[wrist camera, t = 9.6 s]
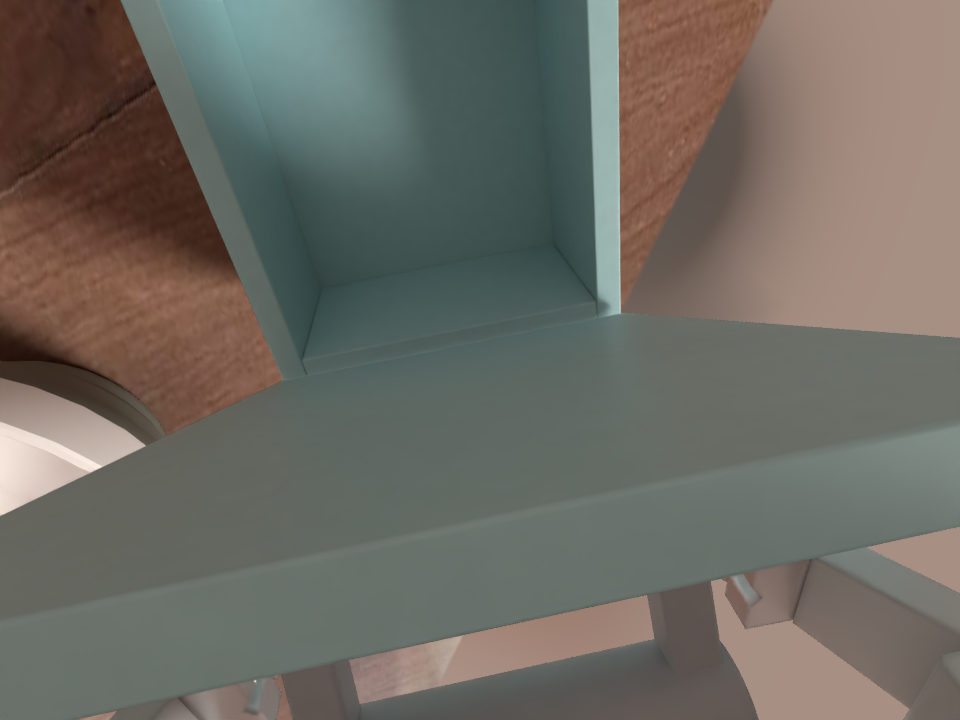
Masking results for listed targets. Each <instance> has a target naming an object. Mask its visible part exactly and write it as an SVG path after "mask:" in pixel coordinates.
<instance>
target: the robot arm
mask: <svg viewBox="0 0 960 720" xmlns="http://www.w3.org/2000/svg"><path fill="white" fill-rule="evenodd" d="M722 579H723V580H725V581H726V582H727V586H726V593H725V595H726V597H727V599H728V600H729V602H730V604H731V605H732V607H733V609H734V611H735V612H736V614H737V616H738V617H739V619H740V621H741V622H742V624H743V625H744V627H745V629H748V628H753V627H758V626H764V625H769V624H774V623H780V622H784V621H790V620H793V623H794V624H795V625H797V626H798V627H800V628H801V629H802V630H803V631H805V632H806V633H808V634H809V635H810V636H812V637H813V638H814V639H816V640H817V641H818V642H820V643H821V644H822V645H824V646H825V647H826V648H828V649H829V650H831V651H832V652H833V653H835V654H836V655H837V656H839V657H840V658H841V659H843V660H844V661H846V662H847V663H848V664H850V665H851V666H852V667H854V668H855V669H856V670H858V671H859V672H860V673H862V674H863V675H864V676H866V677H867V678H869V679H870V680H871V681H873V682H874V683H875V684H877V685H878V686H880V687H881V688H882V689H883V690H885V691H886V692H887V693H889V694H890V695H891V696H893V697H894V698H896V699H897V700H898V701H900V702H901V703H902V704H904V705H905V706H906V707H908V708H909V711H908V713H907V714H906V716H905V718H904V720H960V593H958V592H956V591H954V590H952V589H950V588H948V587H946V586H944V585H942V584H940V583H938V582H936V581H934V580H932V579H930V578H928V577H926V576H924V575H921V574H920V573H918V572H915V571H913V570H911V569H909V568H907V567H905V566H903V565H901V564H899V563H897V562H895V561H893V560H891V559H889V558H887V557H885V556H883V555H881V554H879V553H877V552H875V551H873V550H870V549H868V548H866V547H864V548H859V549H855V550H850V551H846V552H841V553H836V554H832V555H827V556H823V557H818V558H814V559H809V560H804V561H800V562H795V563H791V564H786V565H781V566H777V567H772V568H768V569H763V570H759V571H754V572H749V573H745V574H740V575H736V576H731V577H726V578H722ZM278 676H279V675H277V676H273V677H268V678H264V679H259V680H255V681H250V682H245V683H241V684H236V685H232V686H227V687H223V688H218V689H213V690H209V691H204V692H200V693H195V694H190V695H186V696H181V697H177V698H172V699H168V700H163V701H158V702H154V703H149V704H145V705H140V706H135V707H131V708H126V709H122V710H118V711H117V712H116V713H115V714H114V715H113V717H112V718H111V719H110V720H277V715H278V709H279V703H280V698H281V691H280V689H279V687H278V685H277V684H276V682H275V680H276V679H277V677H278Z"/></svg>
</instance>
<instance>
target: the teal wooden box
mask: <svg viewBox="0 0 960 720" xmlns="http://www.w3.org/2000/svg"><path fill="white" fill-rule="evenodd" d="M120 1H121V3H122V5H123V8H124V10H125V12H126V15H127V17H128V19H129V22H130V24H131V26H132V29H133V31H134V33H135V36H136V38H137V40H138V43H139V45H140V47H141V50H142V52H143V54H144V57H145V59H146V61H147V64H148V66H149V68H150V71H151V73H152V75H153V78H154V80H155V82H156V85H157V87H158V89H159V92H160V94H161V96H162V99H163V101H164V103H165V106H166V108H167V110H168V113H169V115H170V117H171V120H172V122H173V124H174V127H175V129H176V131H177V134H178V136H179V138H180V141H181V143H182V145H183V148H184V150H185V152H186V155H187V157H188V159H189V162H190V164H191V166H192V169H193V171H194V173H195V176H196V178H197V180H198V183H199V185H200V187H201V190H202V192H203V194H204V197H205V199H206V201H207V204H208V206H209V208H210V211H211V213H212V215H213V218H214V220H215V222H216V225H217V227H218V229H219V232H220V234H221V236H222V239H223V241H224V243H225V246H226V248H227V250H228V253H229V255H230V257H231V260H232V262H233V264H234V267H235V269H236V271H237V274H238V276H239V278H240V281H241V283H242V285H243V288H244V290H245V292H246V295H247V297H248V299H249V302H250V304H251V306H252V309H253V311H254V313H255V316H256V318H257V320H258V323H259V325H260V327H261V330H262V332H263V334H264V337H265V339H266V341H267V344H268V346H269V348H270V351H271V353H272V355H273V358H274V360H275V362H276V364H277V367H278V369H279V371H280V374H281V376H282V378H283V381H285V380H290V379H295V378H300V377H305V376H310V375H315V374H320V373H325V372H330V371H335V370H340V369H345V368H350V367H355V366H360V365H365V364H370V363H375V362H380V361H385V360H390V359H395V358H400V357H405V356H410V355H415V354H420V353H425V352H430V351H435V350H440V349H445V348H450V347H455V346H460V345H465V344H470V343H475V342H480V341H485V340H490V339H495V338H500V337H505V336H510V335H515V334H520V333H525V332H530V331H535V330H540V329H545V328H550V327H555V326H560V325H565V324H570V323H575V322H580V321H585V320H590V319H595V318H600V317H605V316H610V315H615V314H620V313H621V312H620V177H619V42H618V0H120Z"/></svg>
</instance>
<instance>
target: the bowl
mask: <svg viewBox="0 0 960 720" xmlns="http://www.w3.org/2000/svg"><path fill="white" fill-rule="evenodd" d="M164 437H166V435H165V432H164V431H163V429H162V427H161V425H160V424H159V422H158V420H157V419H156V417H155V416H154V415H153V414H152V413H151V412H150V410H149V409H148V408H147V407H146V406H145V405H144V404H143V403H142V402H140V401H139V400H138V399H137V398H136V397H134V396H133V395H132V394H131V393H130V392H128V391H127V390H125V389H123V388H121V387H120V386H118V385H116V384H115V383H113V382H111V381H110V380H108V379H105V378H103V377H101V376H98V375H96V374H94V373H91V372H89V371H86V370H82V369H79V368H75V367H72V366H68V365H65V364H58V363H51V362H44V361H12V362H7V361H0V516H1V515H3V514H5V513H8V512H10V511H12V510H14V509H16V508H18V507H20V506H22V505H24V504H26V503H28V502H30V501H33V500H35V499H37V498H39V497H41V496H43V495H45V494H47V493H49V492H51V491H53V490H55V489H57V488H60V487H62V486H64V485H66V484H68V483H70V482H72V481H74V480H76V479H78V478H80V477H82V476H85V475H87V474H89V473H91V472H93V471H95V470H97V469H99V468H101V467H103V466H105V465H107V464H110V463H112V462H114V461H116V460H118V459H120V458H122V457H124V456H126V455H128V454H130V453H132V452H134V451H137V450H139V449H141V448H143V447H145V446H147V445H149V444H151V443H153V442H155V441H157V440H159V439H162V438H164Z"/></svg>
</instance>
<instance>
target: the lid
mask: <svg viewBox="0 0 960 720" xmlns="http://www.w3.org/2000/svg"><path fill="white" fill-rule="evenodd" d="M956 527H960V338H952V337H939V336H925V335H912V334H899V333H886V332H872V331H859V330H845V329H832V328H819V327H805V326H792V325H777V324H765V323H750V322H738V321H725V320H710V319H697V318H684V317H671V316H657V315H643V314H630V313H620V314H615V315H610V316H605V317H600V318H595V319H590V320H585V321H580V322H575V323H570V324H565V325H560V326H555V327H550V328H545V329H540V330H535V331H530V332H525V333H520V334H515V335H510V336H505V337H500V338H495V339H490V340H485V341H480V342H475V343H470V344H465V345H460V346H455V347H450V348H445V349H440V350H435V351H430V352H425V353H420V354H415V355H410V356H405V357H400V358H395V359H390V360H385V361H380V362H375V363H370V364H365V365H360V366H355V367H350V368H345V369H340V370H335V371H330V372H325V373H320V374H315V375H310V376H305V377H300V378H295V379H290V380H285V381H280V382H278V383H276V384H274V385H272V386H270V387H268V388H266V389H264V390H261V391H259V392H257V393H255V394H253V395H251V396H249V397H247V398H245V399H243V400H241V401H239V402H236V403H234V404H232V405H230V406H228V407H226V408H224V409H222V410H220V411H218V412H216V413H214V414H212V415H209V416H207V417H205V418H203V419H201V420H199V421H197V422H195V423H193V424H191V425H189V426H187V427H184V428H182V429H180V430H178V431H176V432H174V433H172V434H170V435H168V436H166V437H164V438H162V439H159V440H157V441H155V442H153V443H151V444H149V445H147V446H145V447H143V448H141V449H139V450H137V451H134V452H132V453H130V454H128V455H126V456H124V457H122V458H120V459H118V460H116V461H114V462H112V463H110V464H107V465H105V466H103V467H101V468H99V469H97V470H95V471H93V472H91V473H89V474H87V475H85V476H82V477H80V478H78V479H76V480H74V481H72V482H70V483H68V484H66V485H64V486H62V487H60V488H57V489H55V490H53V491H51V492H49V493H47V494H45V495H43V496H41V497H39V498H37V499H35V500H33V501H30V502H28V503H26V504H24V505H22V506H20V507H18V508H16V509H14V510H12V511H10V512H8V513H5V514H3V515H1V516H0V720H76V719H80V718H85V717H90V716H94V715H99V714H103V713H108V712H113V711H117V710H122V709H126V708H131V707H135V706H140V705H145V704H149V703H154V702H158V701H163V700H168V699H172V698H177V697H181V696H186V695H190V694H195V693H200V692H204V691H209V690H213V689H218V688H223V687H227V686H232V685H236V684H241V683H245V682H250V681H255V680H259V679H264V678H268V677H273V676H277V675H281V676H282V680H283V684H284V688H285V692H286V695H287V699H288V703H289V707H290V711H291V715H292V718H293V720H758V717H757V713H756V710H755V707H754V704H753V702H752V699H751V697H750V694H749V692H748V689H747V687H746V685H745V683H744V680H743V678H742V676H741V674H740V672H739V670H738V668H737V666H736V664H735V663H734V661H733V659H732V658H731V656H730V654H729V653H728V651H727V650H726V648H725V647H724V645H723V644H722V643H721V641H720V640H719V633H718V626H717V620H716V614H715V607H714V600H713V593H712V587H711V581H713V580H717V579H722V578H726V577H731V576H736V575H740V574H745V573H749V572H754V571H759V570H763V569H768V568H772V567H777V566H781V565H786V564H791V563H795V562H800V561H804V560H809V559H814V558H818V557H823V556H827V555H832V554H836V553H841V552H846V551H850V550H855V549H859V548H864V547H868V546H873V545H878V544H882V543H887V542H891V541H896V540H900V539H905V538H910V537H914V536H919V535H923V534H928V533H932V532H937V531H942V530H946V529H951V528H956ZM644 595H647V596H648V602H649V608H650V614H651V619H652V626H653V631H654V638H655V639H653V640H648V641H644V642H639V643H635V644H630V645H626V646H622V647H617V648H612V649H608V650H603V651H599V652H594V653H590V654H586V655H581V656H576V657H572V658H567V659H563V660H558V661H554V662H549V663H544V664H540V665H536V666H531V667H526V668H522V669H517V670H513V671H508V672H504V673H499V674H495V675H490V676H486V677H481V678H477V679H473V680H468V681H463V682H459V683H454V684H450V685H445V686H440V687H436V688H431V689H427V690H422V691H418V692H413V693H409V694H404V695H400V696H395V697H391V698H386V699H382V700H377V701H373V702H368V703H364V704H359V700H358V696H357V692H356V687H355V683H354V679H353V675H352V671H351V667H350V663H349V660H351V659H355V658H360V657H365V656H369V655H374V654H378V653H383V652H387V651H392V650H397V649H401V648H406V647H410V646H415V645H420V644H424V643H429V642H433V641H438V640H442V639H447V638H452V637H456V636H461V635H465V634H470V633H474V632H479V631H484V630H488V629H493V628H497V627H502V626H506V625H511V624H516V623H520V622H525V621H529V620H534V619H538V618H543V617H548V616H552V615H557V614H562V613H566V612H570V611H575V610H580V609H584V608H589V607H594V606H598V605H603V604H607V603H611V602H616V601H621V600H625V599H630V598H635V597H639V596H644Z"/></svg>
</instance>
